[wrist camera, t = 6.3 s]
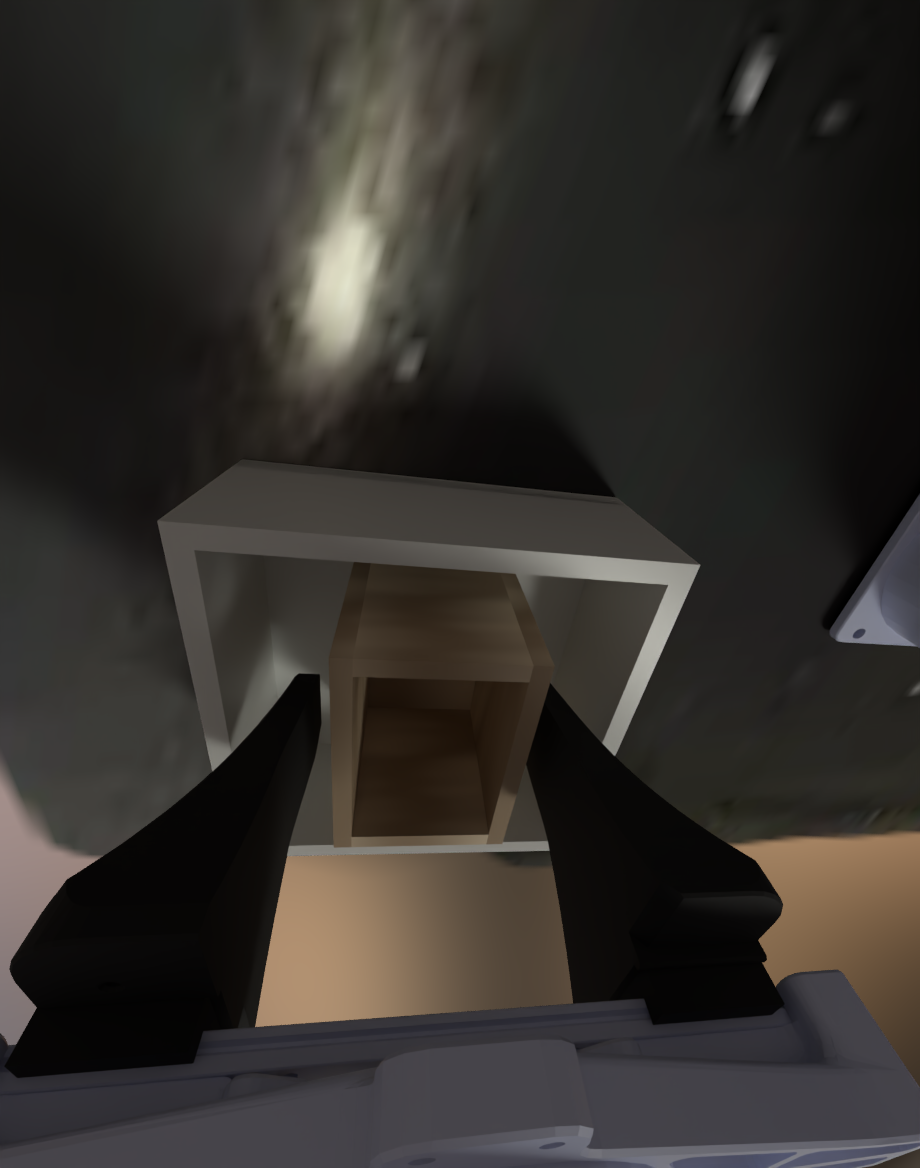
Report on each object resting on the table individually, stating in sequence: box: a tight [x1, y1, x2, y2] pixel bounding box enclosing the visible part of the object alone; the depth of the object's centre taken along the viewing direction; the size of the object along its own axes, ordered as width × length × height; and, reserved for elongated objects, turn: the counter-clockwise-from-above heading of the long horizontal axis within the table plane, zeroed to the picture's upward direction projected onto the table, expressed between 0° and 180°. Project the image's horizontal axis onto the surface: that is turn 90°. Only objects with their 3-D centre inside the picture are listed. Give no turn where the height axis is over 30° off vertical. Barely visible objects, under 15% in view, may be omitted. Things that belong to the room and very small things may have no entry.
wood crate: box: [329, 562, 555, 848], centre depth 14 cm, size 5×7×6 cm
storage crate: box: [157, 459, 700, 856], centre depth 15 cm, size 12×12×5 cm
